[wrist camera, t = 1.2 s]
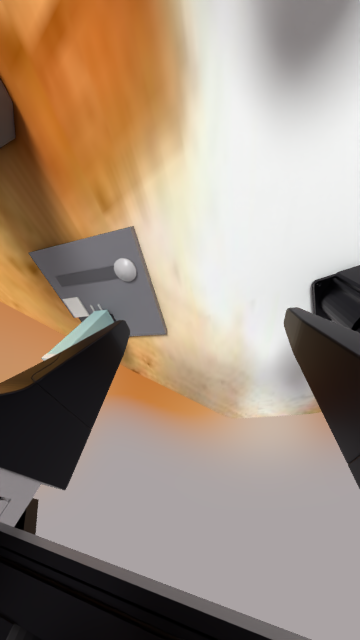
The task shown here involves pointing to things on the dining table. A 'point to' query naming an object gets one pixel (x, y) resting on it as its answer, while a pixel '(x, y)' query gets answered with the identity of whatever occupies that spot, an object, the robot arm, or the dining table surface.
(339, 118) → the dining table surface
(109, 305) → the console panel
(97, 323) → the fader tab
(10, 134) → the liquor
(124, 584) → the robot arm
